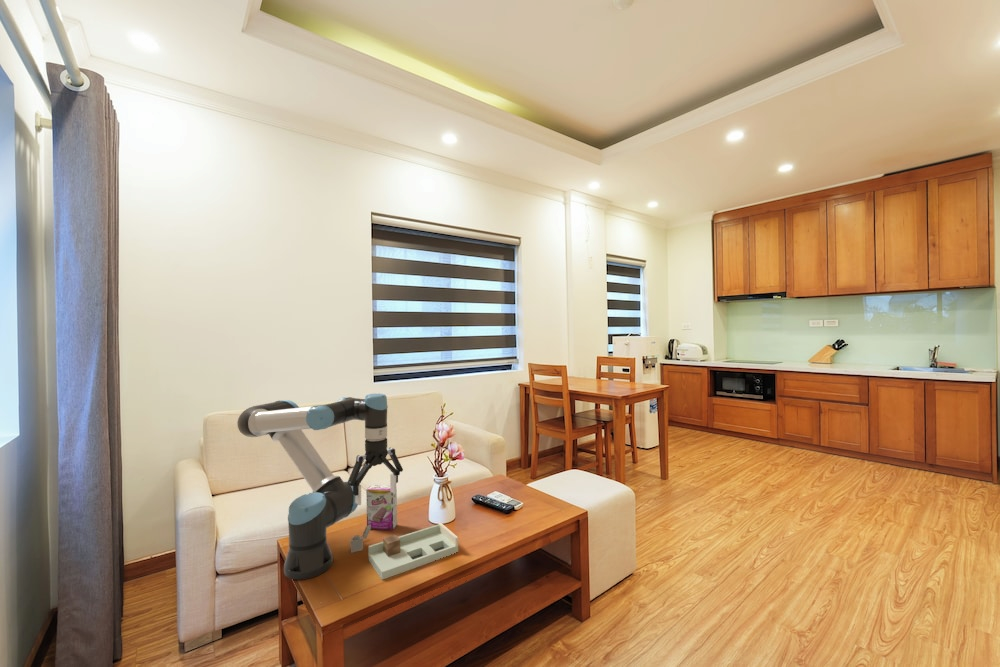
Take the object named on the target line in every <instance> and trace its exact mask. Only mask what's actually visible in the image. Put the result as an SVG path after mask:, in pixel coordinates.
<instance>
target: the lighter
mask: <svg viewBox="0 0 1000 667" xmlns="http://www.w3.org/2000/svg"><path fill="white" fill-rule="evenodd" d="M371 530H372V529H371V527H370V526H367V525H366V526H365V529H364V530H363V532H362V536H361V535H360V534H358V535H354V536H352V538H350V539H349V540H350V553H351V554H352V553H356V552H360V551H363V550H364V539H365V540H366V539H367V538H368V536H369V533H370V531H371Z"/></svg>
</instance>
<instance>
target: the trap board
mask: <svg viewBox="0 0 1000 667" xmlns="http://www.w3.org/2000/svg"><path fill="white" fill-rule="evenodd" d="M397 537H398V538H399V539H400V553H398V554H395V555H392V556H389V557H388V556H387V555H386V554H385V552H384V551H383V541H380V542H377V543H374V544H370V545H368V548H367V549H368V550H367V551H368V561H369V563H370V564H371V566H372V567H373V569H374V570H375V572H376V573H377V575H378V576H379V578H380V579H381V580H382V581H383V580H386V579H388V578H391V577H393V576H396V575H400V574H402V573H404V572H408V571H410V570H413V569H416V568H419V567H422V566H425V565H427V564H429V563H433V562H435V560H436V561H438V560H441V559H444V558H446V556H447V557H448V556H452V555H454V553H455V554H457V553H456V552H458V553H459V537H458V536H457V535H456V534H455V533H454V532H453V531H451V530H450V529H449V528H448V527H447V526H446V525H444V524H443V523H442V522H438V523H437V524H436V525H432V526H429V527H426V528H425V527H424V528H422V529H419V530H416V531H412V532H410V533H406V534H403V535H399V536H397ZM451 554H452V555H451ZM443 557H444V558H443ZM440 558H441V559H440Z"/></svg>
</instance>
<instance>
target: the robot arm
mask: <svg viewBox="0 0 1000 667" xmlns="http://www.w3.org/2000/svg"><path fill="white" fill-rule="evenodd" d="M387 398H388V397H387V396H386V394H383V393H369V394H366V395H365V397H364V398H355V397H350V396H349V397H348V396H347V397H341V398H339V399H338V400H337V401H334V402H331V403H328V404H317V405H312V406H302V407H299V406H298V404H297V403H296V402H294V401H292V400H290V399H289V400H288V399H284V400H277V401H273V402H269V403H264V404H263V403H262V404H258V405H253V406H251V407H248V408H246V409H245V410H244V411H242V412H241V413H240V415H239V417H238V418H237V422H236V424H237V429H238V431H239V432H240V433H241V434H242V435H243V436H245V437H249V438H258V437H262V436H266V435H269V436H270V438H271V440H272V441H273V442H278V443H279V444H281V446H282V448H283V449H284V451H285V452H286V454H287V456H288V457H289V458H290V460H291V461H292V462H293V464H294V465H295V467H296V468H297V469H298V472H299V473H300V474H301V476H302V478H304V480H305V482H306V483H307V485H308V486H309V487H310V489H311V490H312V492H309V493H307V494H302V495H301V496H298V497H297V498H295V499H294V500H293V501H292V502H291V503H290V504H289V506H288V513H287V514H288V515H287V522H288V551H287V555H286V558H285V559H284V560H285V561H284V564H283V574H284V577H285V578H288V579H290V580H295V581H296V580H298V581H299V580H307V579H311V578H315V577H317V576H320V575H321V574H323V573H325V572H327V571H328V570H329V569H330V568H331V567H332V565H333V553H332V551H331V547H330V546H329V543H328V540H327V528H330V527H331V526H333V525H334V524H336V523H337V522H339V521H341V520H343V519H345V518H347V517H349V516H350V515H351V514H352V513H353V512H355V511H356V509H357V508H358V506H362V485H361V484H362V483H361V482H362V481H363V479H364V478H365V476H366V475H367V473H368V471H369V470H370V469H371V468H372V467H376V466H377V465H382V464H383V465H384V466H386V467H387V469H388V470H389V471H390V472H391V473H390V481H389V482H390V485H389V486H390V490H391V492H392V493H394V494H395V493H396V489H397V484H398V483H399V476H400V474H401V473H402V472H403V471H404V468H403V466H402V465H401V462H400V461H399V458H398V456H397V455H396V449H395V448H393V447H389V448H388V438H387V437H388V408H389V405H388V399H387ZM354 420H355V421H356V420H358V421H364V438H365V439H364V450H365V454H364V455H360V454H357V455H356V460H355V463H354V466H353V468H352V471H351V473H350V475H349V478H348V480H347V481H344V480H343V478H341V476H339V475H334V473H332V471H331V470H330V468H329V467H328V465H327V464H326V463H325V461H324V459H323V458H322V457H321V456H320V454H319V453H318V451H317V449H316V448H315V447H314V445H313V444H312V443H311V441H310V439H309V438H308V436H306V434H305V433H304V431H303V430H307V429H308V430H310V429H312V430H313V431H320V430H321V431H322V430H326V429H328V428H331V427H333V426H337V425H340V424H344V423H347V422H350V421H354ZM387 456H389V457H390V459H391V461H392V463H393V464H391V462H390V461H389V460H388V459H387Z"/></svg>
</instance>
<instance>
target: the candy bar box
mask: <svg viewBox="0 0 1000 667" xmlns="http://www.w3.org/2000/svg"><path fill="white" fill-rule="evenodd" d="M397 489H398V488H396V493H395V494H394V493H392V492H391V490H390V485H381V484H380V485H379V484H375V485H373V484H370V485H369V487H367V489H366V526H370V527H371V529H370V530H385V531H387V530H388V531H391V530H392V531H393V530H394V529H395V528H396V526H397V525H398V514H397V513H398V505H397V503H398V502H397V500H398V499H397V494H398V493H397Z"/></svg>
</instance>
